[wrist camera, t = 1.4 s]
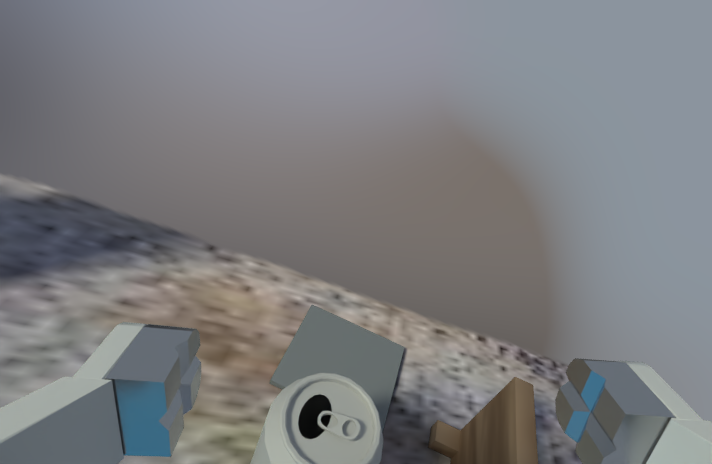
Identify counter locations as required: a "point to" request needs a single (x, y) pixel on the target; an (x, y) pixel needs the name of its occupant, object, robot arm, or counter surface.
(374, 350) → the slate mat
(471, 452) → the walnut screen
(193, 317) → the counter surface
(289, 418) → the can
